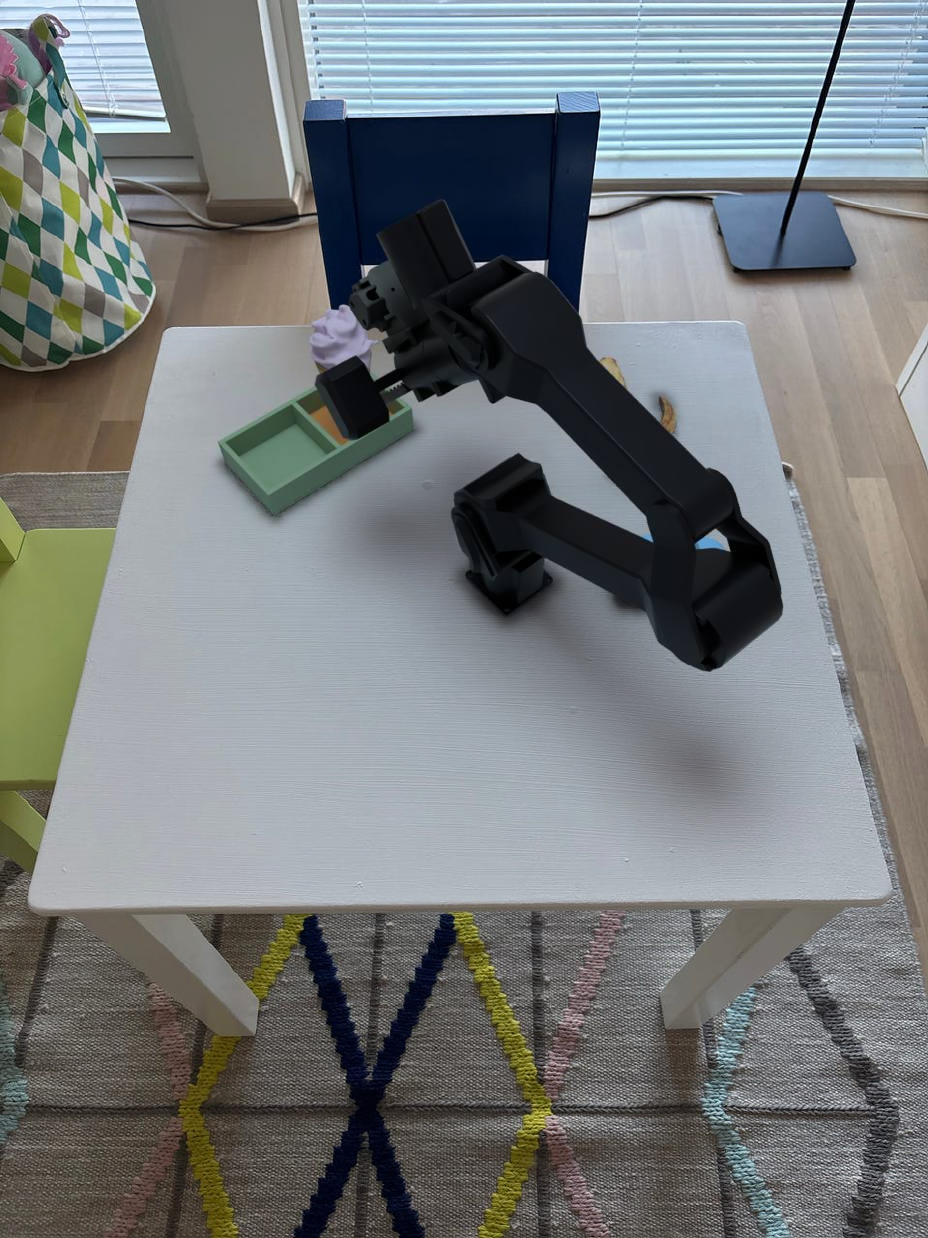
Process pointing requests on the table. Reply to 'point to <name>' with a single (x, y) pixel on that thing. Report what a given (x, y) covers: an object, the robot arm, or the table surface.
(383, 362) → the table surface
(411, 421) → the divided tray
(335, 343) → the ice cream cone
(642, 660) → the table surface
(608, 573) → the robot arm
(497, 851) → the table surface
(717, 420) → the table surface
